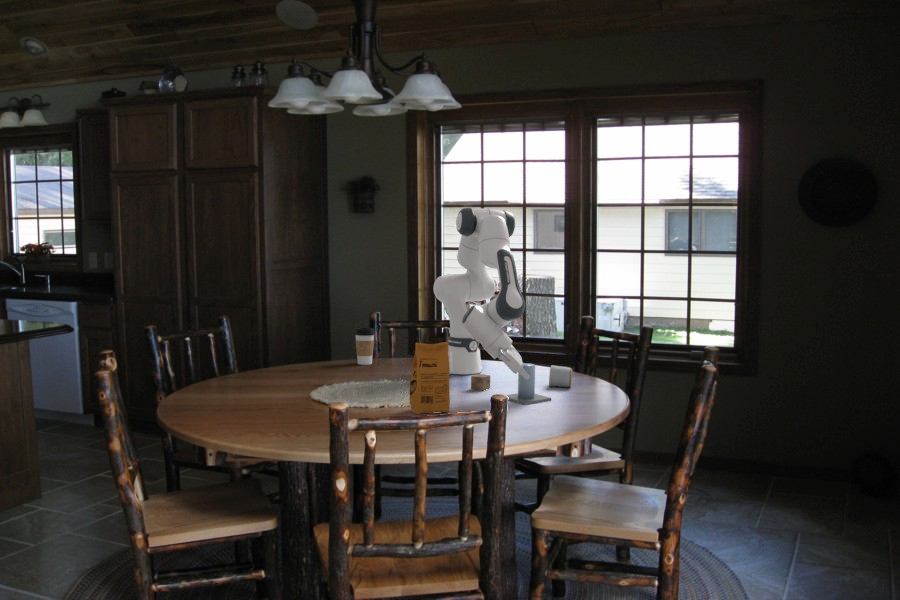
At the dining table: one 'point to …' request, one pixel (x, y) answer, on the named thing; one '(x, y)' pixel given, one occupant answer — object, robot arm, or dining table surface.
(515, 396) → the pad
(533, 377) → the blue-grey tall cylinder
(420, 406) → the coffee package
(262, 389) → the dining table surface
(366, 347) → the coffee cup
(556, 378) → the grey rounded block
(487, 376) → the walnut block
